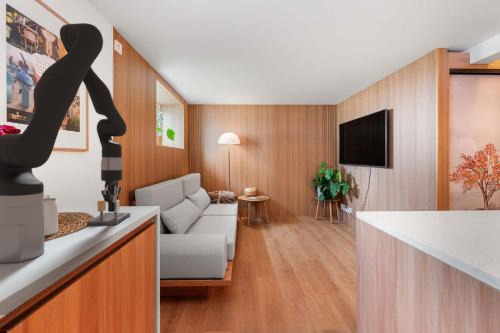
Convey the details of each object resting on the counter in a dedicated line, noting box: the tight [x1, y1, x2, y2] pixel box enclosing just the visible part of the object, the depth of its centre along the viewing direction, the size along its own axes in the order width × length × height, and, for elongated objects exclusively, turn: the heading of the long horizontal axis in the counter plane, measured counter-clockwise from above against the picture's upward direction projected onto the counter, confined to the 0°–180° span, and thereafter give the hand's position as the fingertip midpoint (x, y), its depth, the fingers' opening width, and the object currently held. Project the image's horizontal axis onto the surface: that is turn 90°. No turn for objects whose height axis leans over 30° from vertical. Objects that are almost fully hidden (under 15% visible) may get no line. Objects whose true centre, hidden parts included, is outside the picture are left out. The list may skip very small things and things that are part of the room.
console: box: [86, 212, 131, 226], centre depth 106 cm, size 15×11×2 cm
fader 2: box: [113, 199, 120, 217], centre depth 104 cm, size 3×2×7 cm
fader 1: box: [97, 199, 107, 217], centre depth 105 cm, size 3×2×7 cm
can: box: [44, 197, 59, 237], centre depth 87 cm, size 6×6×12 cm
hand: (111, 211), depth 100 cm, fingers closed
